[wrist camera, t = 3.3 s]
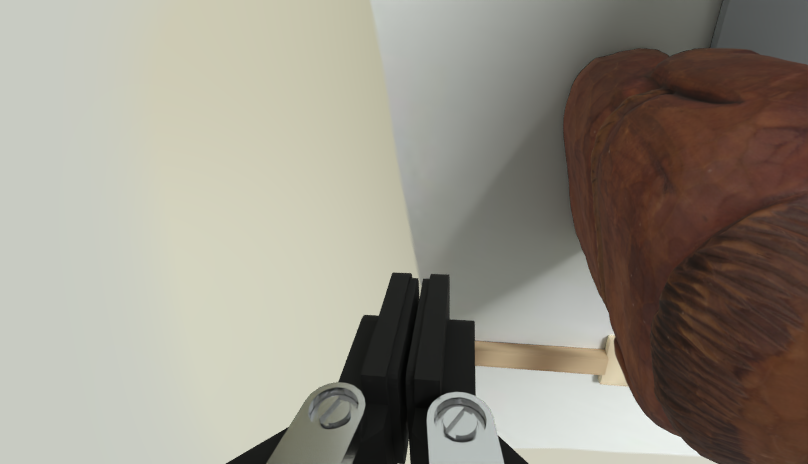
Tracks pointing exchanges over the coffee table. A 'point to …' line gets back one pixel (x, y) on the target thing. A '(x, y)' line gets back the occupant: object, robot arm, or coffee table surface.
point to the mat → (764, 28)
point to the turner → (553, 359)
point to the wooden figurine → (700, 239)
